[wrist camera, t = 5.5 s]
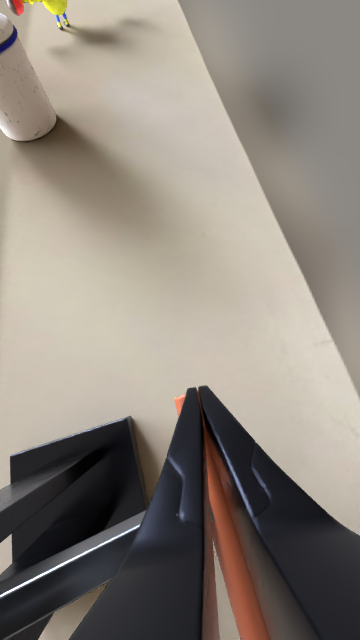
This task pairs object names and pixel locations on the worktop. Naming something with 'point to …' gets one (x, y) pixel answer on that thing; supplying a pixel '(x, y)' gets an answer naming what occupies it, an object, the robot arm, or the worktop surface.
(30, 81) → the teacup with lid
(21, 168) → the worktop surface
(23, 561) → the bracket
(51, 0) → the toy figure
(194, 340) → the worktop surface
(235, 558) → the lever
